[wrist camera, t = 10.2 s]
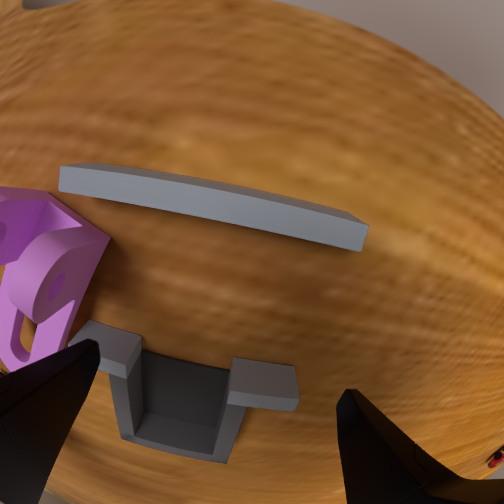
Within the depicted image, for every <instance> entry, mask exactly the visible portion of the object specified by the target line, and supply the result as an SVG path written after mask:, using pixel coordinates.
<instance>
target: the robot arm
mask: <svg viewBox="0 0 504 504" xmlns="http://www.w3.org/2000/svg"><path fill="white" fill-rule="evenodd" d="M100 361H101V357H100V349H99V343H98V342H97V341H95V340H93V339H90V338H87V339H84V340H82V341H80V342H78V343H76V344H73V345H71V346H69V347H67V348H64V349H62V350H60V351H58V352H56V353H53V354H51V355H49V356H47V357H44V358H42V359H40V360H38V361H35V362H33V363H31V364H29V365H26V366H24V367H22V368H19V369H17V370H15V371H12V372H10V373H8V374H6V375H4V374H3V373H1V372H0V504H38V502H39V500H40V497H41V495H42V492H43V490H44V487H45V485H46V482H47V481H46V480H48V477H49V475H50V473H51V470H52V468H53V466H54V463H55V461H56V459H57V457H58V454H59V452H60V450H61V448H62V446H63V444H64V441H65V439H66V437H67V435H68V433H69V431H70V429H71V427H72V425H73V423H74V421H75V419H76V417H77V415H78V413H79V411H80V409H81V407H82V405H83V403H84V401H85V399H86V397H87V395H88V393H89V390H90V387H91V385H92V382H93V380H94V377H95V375H96V372H97V370H98V367H99V365H100ZM336 413H337V432H338V445H339V451H340V457H341V464H342V470H343V477H344V484H345V491H346V499H347V504H504V479H491V480H490V479H488V480H470V479H465V478H462V477H460V476H458V475H457V474H455V473H454V472H452V471H451V470H449V469H448V468H447V467H445V466H444V465H442V464H441V463H439V462H438V461H437V460H435V459H434V458H433V457H431V456H430V455H429V454H428V453H427V452H425V451H424V450H423V449H422V448H421V447H419V446H418V445H417V444H415V442H414V441H413V440H412V439H410V438H409V437H408V436H407V435H406V434H405V433H404V432H403V431H402V430H400V429H399V428H398V427H397V426H396V425H395V424H394V423H393V422H392V421H391V420H389V419H388V418H387V417H386V416H385V415H384V414H383V413H382V412H381V411H380V410H379V409H378V408H376V407H375V406H374V405H373V404H372V403H371V402H370V401H369V400H368V399H367V398H366V397H365V396H364V395H362V394H361V393H360V392H359V391H358V390H357V389H346V390H345V391H344V393H343V394H342V396H341V398H340V399H339V401H338V403H337V406H336Z"/></svg>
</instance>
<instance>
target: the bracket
mask: <svg viewBox="0 0 504 504" xmlns="http://www.w3.org/2000/svg"><path fill="white" fill-rule="evenodd" d="M110 239H111V237H110V236H109V235H107V234H106V233H104V232H103V231H101V230H100V229H98V228H97V227H95V226H94V225H92V224H91V223H90V222H88V221H87V220H85V219H84V218H82V217H81V216H79V215H78V214H77V213H75V212H74V211H72V210H71V209H70V208H68V207H67V206H65V205H64V204H63V203H61V202H60V201H59V200H57V199H56V198H55V197H53V196H52V195H50V194H49V193H48V192H46V191H44V190H35V189H25V188H14V187H2V186H0V266H1V265H4V264H6V267H5V271H4V275H3V279H2V283H1V287H0V358H1V360H2V361H3V363H4V364H5V366H6V367H7V368H8V369H9V371H10V372H12V371H15V370H17V369H19V368H22V367H24V366H26V365H29V364H31V363H33V362H35V361H38V360H40V359H42V358H44V357H47V356H49V355H51V354H53V353H56V352H58V351H60V350H62V349H64V346H65V343H66V340H67V338H68V335H69V332H70V329H71V327H72V324H73V321H74V319H75V316H76V313H77V311H78V308H79V306H80V303H81V301H82V299H83V296H84V294H85V292H86V289H87V287H88V285H89V282H90V280H91V278H92V276H93V273H94V271H95V269H96V267H97V265H98V263H99V261H100V259H101V257H102V254H103V252H104V250H105V248H106V246H107V244H108V242H109V241H110ZM24 315H26V316H27V317H28V318H30V319H31V320H32V321H33V322H34V323H36V324H38V326H37V330H36V333H35V337H34V341H33V345H32V349H31V353H29V352H27V351H26V350H25V349H24V348H23V346H22V344H21V342H20V332H21V328H22V323H23V319H24Z"/></svg>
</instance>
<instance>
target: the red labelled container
mask: <svg viewBox="0 0 504 504" xmlns="http://www.w3.org/2000/svg"><path fill="white" fill-rule="evenodd" d="M503 461H504V449H503V450H502V451H501V452H498V453H496V454H495V456H494V458H493V459H492V460H491V461H490V462H489V464H488V467H489V468H494V467H496V466H497V465H499V464H500V463H502V462H503Z"/></svg>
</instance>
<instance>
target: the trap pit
mask: <svg viewBox="0 0 504 504" xmlns="http://www.w3.org/2000/svg"><path fill="white" fill-rule="evenodd" d="M229 376H230V370H227V369H221V368H216V367H211V366H206V365H201V364H197V363H192V362H188V361H184V360H179V359H175V358H171V357H167V356H163V355H159V354H156V353H152V352H148V351H145V350H141V352H140V354H139V356H138V358H137V360H136V362H135V364H134V366H133V368H132V370H131V372H130V374H129V376H128V378H127V379H125V378H121V377H118V376H116V375H113V374H110V373H109V378H110V385H111V391H112V397H113V402H114V407H115V412H116V417H117V422H118V426H119V431H120V435H121V439H123V440H126V441H129V442H133V443H136V444H139V445H142V446H146V447H149V448H153V449H156V450H160V451H164V452H168V453H172V454H176V455H180V456H185V457H190V458H195V459H200V460H205V461H211V462H217V463H224V464H226V463H227V461H228V458H229V455H230V453H231V450H232V448H233V445H234V442H235V439H236V437H237V434H238V431H239V429H240V426H241V423H242V420H243V417H244V415H245V412H246V409H247V407H246V406H239V405H233V404H227V396H228V386H229Z"/></svg>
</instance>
